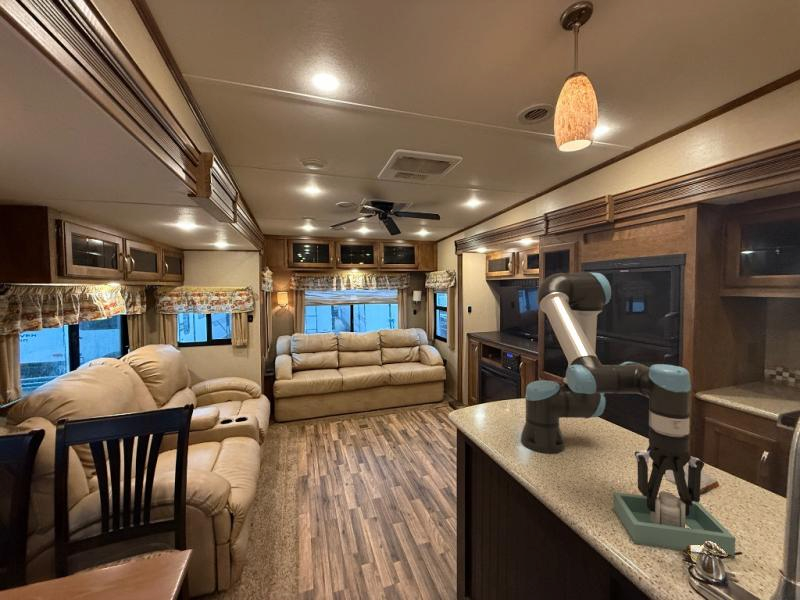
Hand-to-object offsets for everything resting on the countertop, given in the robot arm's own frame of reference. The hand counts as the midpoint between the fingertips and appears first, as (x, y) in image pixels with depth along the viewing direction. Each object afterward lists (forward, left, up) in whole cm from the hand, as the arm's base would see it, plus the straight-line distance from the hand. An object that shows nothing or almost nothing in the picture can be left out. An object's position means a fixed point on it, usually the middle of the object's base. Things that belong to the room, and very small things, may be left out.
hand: (667, 525), depth 79 cm
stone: (-24, +17, -2) cm, 30 cm away
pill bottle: (0, 0, -1) cm, 1 cm away
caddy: (0, 0, -1) cm, 1 cm away
